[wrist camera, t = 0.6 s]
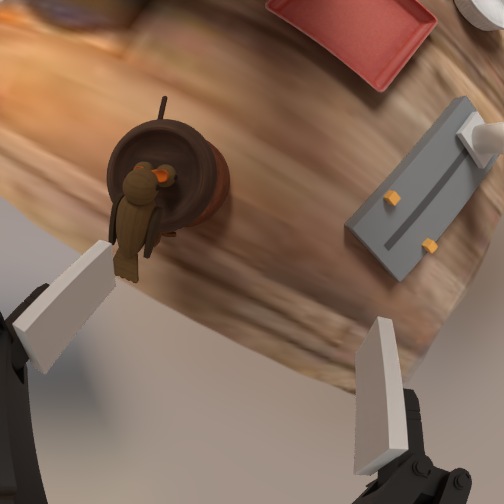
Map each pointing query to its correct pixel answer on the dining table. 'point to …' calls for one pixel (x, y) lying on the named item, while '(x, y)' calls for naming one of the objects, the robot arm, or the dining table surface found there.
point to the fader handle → (481, 138)
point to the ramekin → (483, 13)
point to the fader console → (420, 195)
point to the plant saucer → (362, 32)
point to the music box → (160, 187)
